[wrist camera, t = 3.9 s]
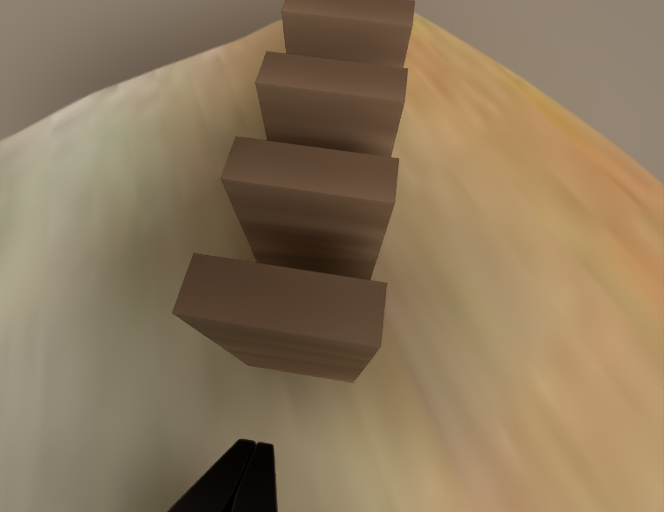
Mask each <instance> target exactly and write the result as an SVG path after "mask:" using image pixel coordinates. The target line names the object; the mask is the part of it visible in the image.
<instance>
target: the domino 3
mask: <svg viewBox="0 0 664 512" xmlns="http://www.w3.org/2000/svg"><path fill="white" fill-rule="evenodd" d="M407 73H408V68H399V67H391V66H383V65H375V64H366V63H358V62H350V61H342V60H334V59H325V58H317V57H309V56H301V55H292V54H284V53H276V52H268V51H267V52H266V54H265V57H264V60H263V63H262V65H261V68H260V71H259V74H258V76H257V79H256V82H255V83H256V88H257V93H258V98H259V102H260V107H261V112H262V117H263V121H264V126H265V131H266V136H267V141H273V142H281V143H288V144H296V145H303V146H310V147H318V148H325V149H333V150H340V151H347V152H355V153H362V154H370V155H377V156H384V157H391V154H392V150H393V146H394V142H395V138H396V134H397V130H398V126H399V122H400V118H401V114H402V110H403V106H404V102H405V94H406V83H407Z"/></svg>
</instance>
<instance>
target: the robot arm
mask: <svg viewBox="0 0 664 512" xmlns="http://www.w3.org/2000/svg"><path fill="white" fill-rule="evenodd" d="M167 512H278V506H277V489H276V473H275V456H274V446H273V445H272V444H269V443H263V442H258V443H257V444H256V442H255V441H252V440H247V439H239V440H238V441H237V442H235V444H234V445H233V446H232V447H231V448H230V449H229V450H228V451H227V452H226V453H225V454H224V455H223V456H222V457H221V458H220V459H219V460H218V461H217V462H216V463H215V464H214V465H213V466H212V467H211V468H210V469H209V470H208V471H207V472H206V473H205V474H204V475H203V476H202V477H201V478H200V479H199V480H198V481H197V482H196V483H195V484H194V485H193V486H192V487H191V488H190V489H189V490H188V491H187V492H186V493H185V494H184V495H183V496H182V497H181V498H180V499H179V500H178V501H177V502H176V503H175V504H174V505H173V506H172V507H171V508H170V509H169V510H168V511H167Z"/></svg>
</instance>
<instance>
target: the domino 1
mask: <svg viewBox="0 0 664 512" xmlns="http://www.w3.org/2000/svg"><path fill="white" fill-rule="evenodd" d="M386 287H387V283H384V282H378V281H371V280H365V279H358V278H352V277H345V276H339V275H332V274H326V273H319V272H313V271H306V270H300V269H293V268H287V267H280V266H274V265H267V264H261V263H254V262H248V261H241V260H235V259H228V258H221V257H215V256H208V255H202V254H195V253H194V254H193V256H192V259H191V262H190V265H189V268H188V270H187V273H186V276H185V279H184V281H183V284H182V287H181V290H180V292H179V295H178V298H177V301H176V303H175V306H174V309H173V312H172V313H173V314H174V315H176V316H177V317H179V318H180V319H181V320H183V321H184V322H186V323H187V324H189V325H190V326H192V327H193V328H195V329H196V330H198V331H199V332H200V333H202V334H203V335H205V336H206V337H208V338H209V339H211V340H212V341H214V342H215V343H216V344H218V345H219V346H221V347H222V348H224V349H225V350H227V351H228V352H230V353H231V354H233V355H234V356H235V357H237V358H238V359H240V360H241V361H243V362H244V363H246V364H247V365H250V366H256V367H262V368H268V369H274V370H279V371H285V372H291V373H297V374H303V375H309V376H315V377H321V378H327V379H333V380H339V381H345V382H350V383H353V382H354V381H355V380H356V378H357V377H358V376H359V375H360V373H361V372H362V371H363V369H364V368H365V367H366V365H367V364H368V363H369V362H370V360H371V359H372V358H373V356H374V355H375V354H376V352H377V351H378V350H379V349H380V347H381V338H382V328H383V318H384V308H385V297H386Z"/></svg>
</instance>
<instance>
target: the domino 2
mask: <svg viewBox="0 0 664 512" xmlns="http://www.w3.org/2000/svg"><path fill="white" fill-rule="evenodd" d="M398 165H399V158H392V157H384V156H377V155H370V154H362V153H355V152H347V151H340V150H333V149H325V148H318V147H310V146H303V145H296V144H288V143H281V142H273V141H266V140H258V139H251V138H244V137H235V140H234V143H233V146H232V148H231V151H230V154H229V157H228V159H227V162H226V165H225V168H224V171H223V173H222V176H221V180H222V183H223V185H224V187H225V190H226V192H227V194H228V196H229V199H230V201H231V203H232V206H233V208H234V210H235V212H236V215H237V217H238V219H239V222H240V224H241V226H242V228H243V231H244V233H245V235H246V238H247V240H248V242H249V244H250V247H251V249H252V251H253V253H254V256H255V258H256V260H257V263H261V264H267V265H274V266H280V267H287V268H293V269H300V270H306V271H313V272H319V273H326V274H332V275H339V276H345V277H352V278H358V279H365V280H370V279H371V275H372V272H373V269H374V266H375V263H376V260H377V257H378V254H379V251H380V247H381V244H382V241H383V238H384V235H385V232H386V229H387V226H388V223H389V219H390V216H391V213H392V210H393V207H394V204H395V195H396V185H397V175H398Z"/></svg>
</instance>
